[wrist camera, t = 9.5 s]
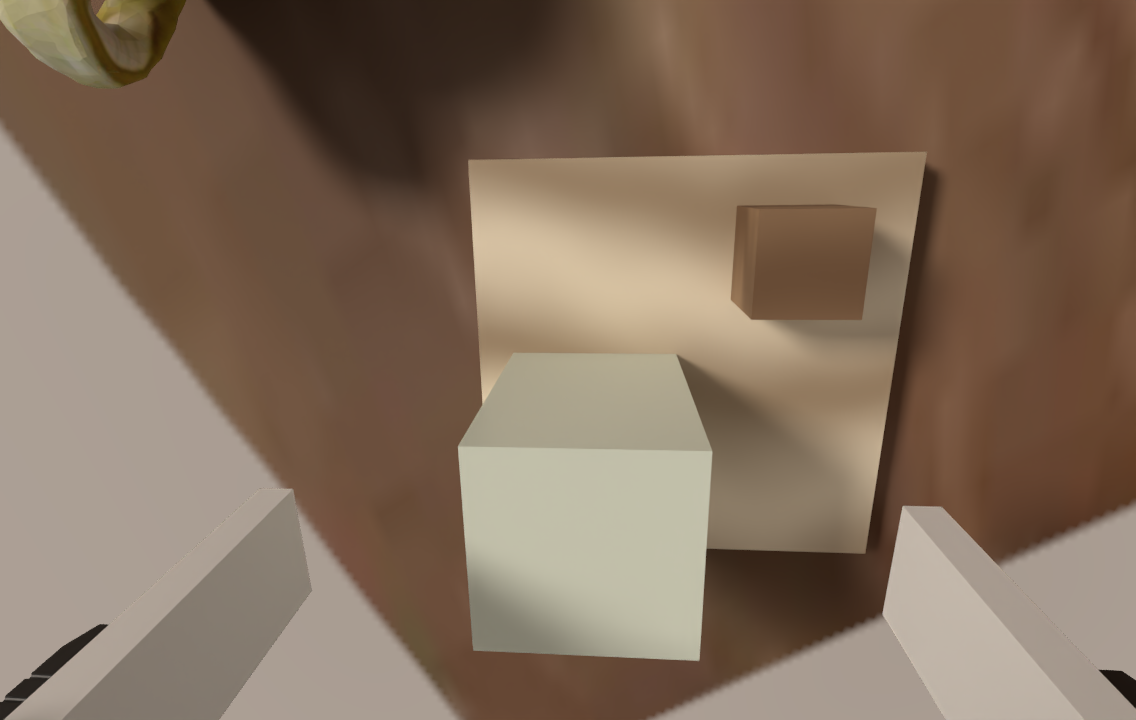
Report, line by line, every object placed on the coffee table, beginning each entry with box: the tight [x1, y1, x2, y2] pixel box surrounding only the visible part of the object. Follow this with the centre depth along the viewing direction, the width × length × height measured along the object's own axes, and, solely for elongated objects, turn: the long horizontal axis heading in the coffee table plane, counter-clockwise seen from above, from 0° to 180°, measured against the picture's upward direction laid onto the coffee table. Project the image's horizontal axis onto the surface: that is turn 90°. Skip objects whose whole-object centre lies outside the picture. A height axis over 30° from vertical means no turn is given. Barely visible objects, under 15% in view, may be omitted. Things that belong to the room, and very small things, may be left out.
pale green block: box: [458, 353, 712, 661], centre depth 17 cm, size 6×6×8 cm
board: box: [468, 152, 927, 554], centre depth 19 cm, size 14×14×4 cm
